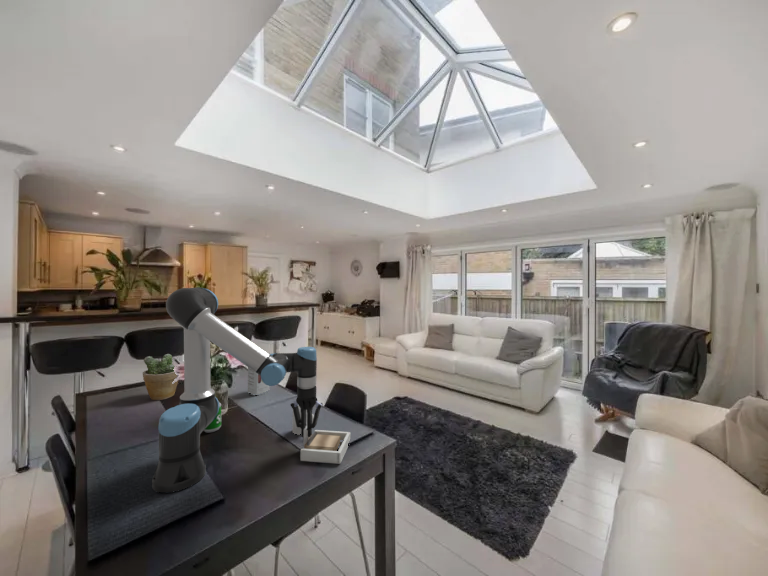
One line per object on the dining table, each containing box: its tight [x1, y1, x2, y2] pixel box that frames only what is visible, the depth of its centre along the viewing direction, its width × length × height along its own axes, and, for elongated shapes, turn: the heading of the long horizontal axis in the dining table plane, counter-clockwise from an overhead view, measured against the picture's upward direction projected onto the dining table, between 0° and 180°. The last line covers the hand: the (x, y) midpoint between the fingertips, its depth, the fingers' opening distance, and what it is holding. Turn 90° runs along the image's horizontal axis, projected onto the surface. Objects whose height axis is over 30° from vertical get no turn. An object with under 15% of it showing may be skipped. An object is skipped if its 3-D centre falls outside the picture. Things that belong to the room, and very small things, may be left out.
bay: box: [300, 429, 352, 465], centre depth 123 cm, size 16×15×4 cm
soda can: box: [202, 402, 222, 434], centre depth 140 cm, size 8×8×12 cm
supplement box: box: [247, 367, 271, 395], centre depth 188 cm, size 10×9×17 cm
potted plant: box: [142, 353, 179, 401], centre depth 180 cm, size 18×19×25 cm
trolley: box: [303, 430, 341, 451], centre depth 124 cm, size 12×10×5 cm
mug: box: [291, 405, 315, 436], centre depth 138 cm, size 12×8×10 cm, turn 53°
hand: (306, 444), depth 124 cm, fingers closed
